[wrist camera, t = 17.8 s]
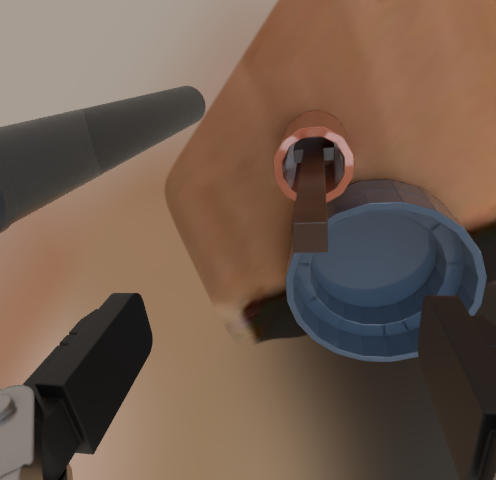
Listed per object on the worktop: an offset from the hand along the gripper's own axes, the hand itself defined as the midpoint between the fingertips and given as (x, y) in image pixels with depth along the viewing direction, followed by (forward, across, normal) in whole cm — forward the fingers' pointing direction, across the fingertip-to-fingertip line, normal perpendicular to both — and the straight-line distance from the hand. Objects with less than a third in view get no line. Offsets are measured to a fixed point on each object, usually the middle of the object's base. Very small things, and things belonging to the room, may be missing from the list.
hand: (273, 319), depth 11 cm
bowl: (+24, -6, +11) cm, 27 cm away
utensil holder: (+24, -1, 0) cm, 24 cm away
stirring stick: (+23, -1, 0) cm, 23 cm away
